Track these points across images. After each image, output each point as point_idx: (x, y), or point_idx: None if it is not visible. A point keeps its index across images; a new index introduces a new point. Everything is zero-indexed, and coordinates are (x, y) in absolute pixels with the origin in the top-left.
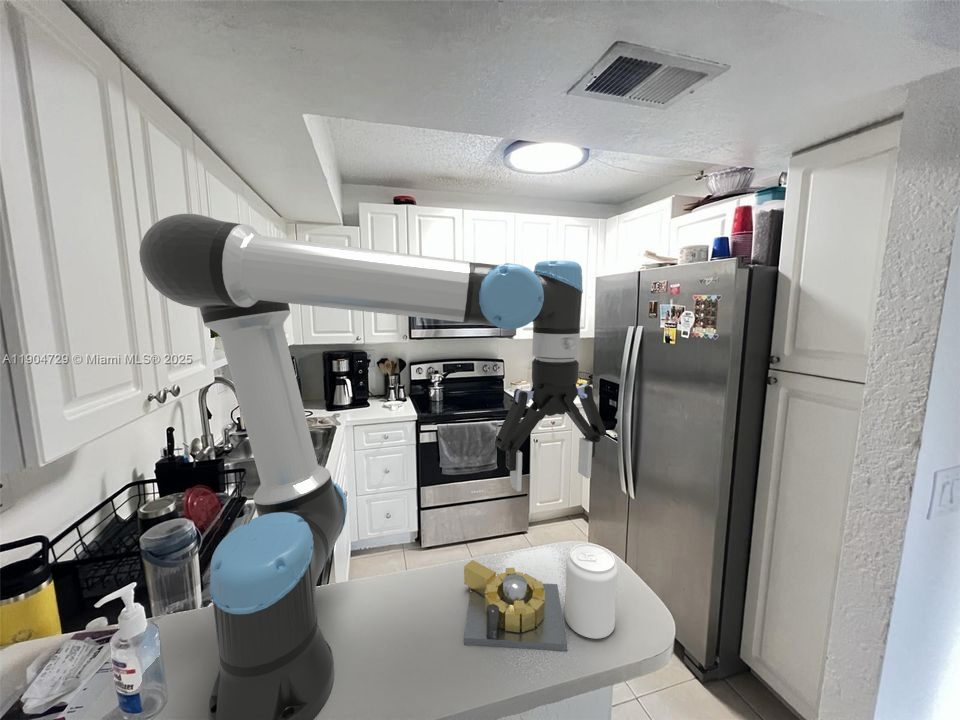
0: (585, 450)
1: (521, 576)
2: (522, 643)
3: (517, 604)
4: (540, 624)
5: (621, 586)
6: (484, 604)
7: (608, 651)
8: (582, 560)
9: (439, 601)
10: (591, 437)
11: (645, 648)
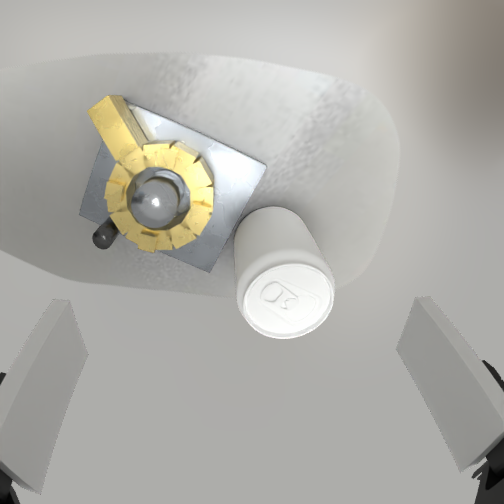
0: (454, 421)
1: (171, 195)
2: None
3: (143, 242)
4: None
5: (368, 203)
6: None
7: None
8: (266, 300)
9: (66, 122)
10: (483, 481)
11: None
